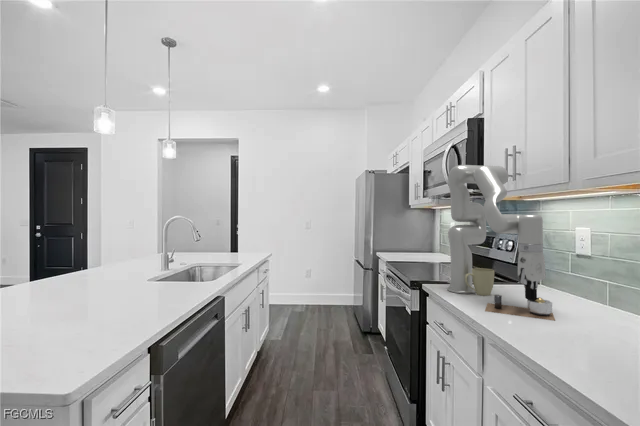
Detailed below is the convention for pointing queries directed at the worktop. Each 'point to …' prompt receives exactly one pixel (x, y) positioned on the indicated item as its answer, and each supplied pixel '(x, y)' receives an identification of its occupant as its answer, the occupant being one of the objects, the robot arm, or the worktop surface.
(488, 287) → the mug
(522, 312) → the base board
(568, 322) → the worktop surface
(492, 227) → the robot arm
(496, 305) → the stand rod
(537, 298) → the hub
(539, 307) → the white octagonal block
